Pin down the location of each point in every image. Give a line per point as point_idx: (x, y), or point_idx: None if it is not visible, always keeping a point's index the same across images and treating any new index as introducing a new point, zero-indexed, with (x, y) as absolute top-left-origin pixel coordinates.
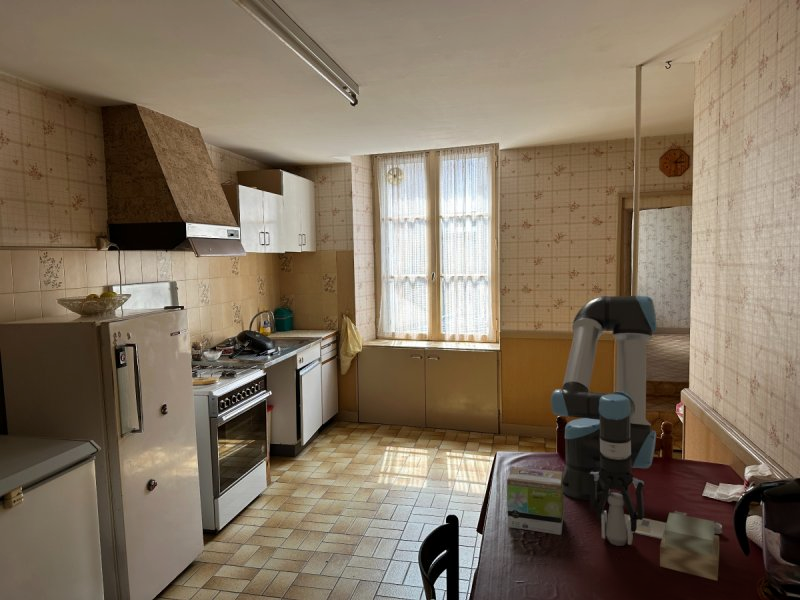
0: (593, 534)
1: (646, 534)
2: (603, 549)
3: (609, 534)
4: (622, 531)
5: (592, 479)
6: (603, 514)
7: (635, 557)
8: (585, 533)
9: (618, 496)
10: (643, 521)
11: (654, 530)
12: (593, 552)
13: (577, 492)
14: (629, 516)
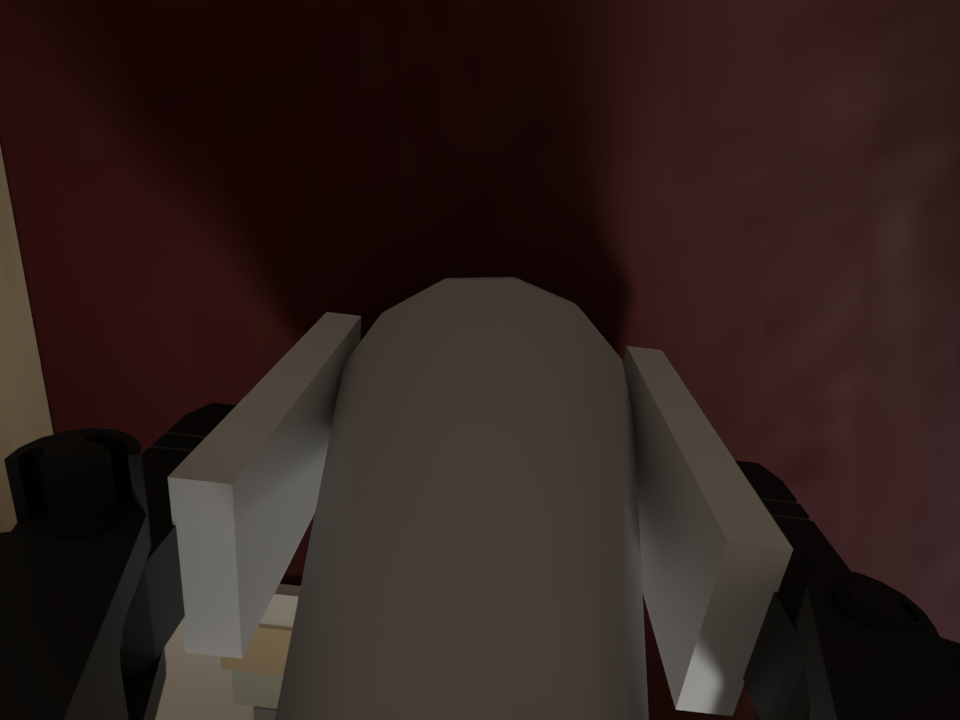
0: (739, 450)
1: None
2: (631, 164)
3: (577, 319)
4: (384, 353)
5: None
6: (744, 563)
7: (265, 123)
8: (827, 442)
9: None
10: None
11: (193, 665)
12: (758, 33)
13: None
14: (229, 631)
